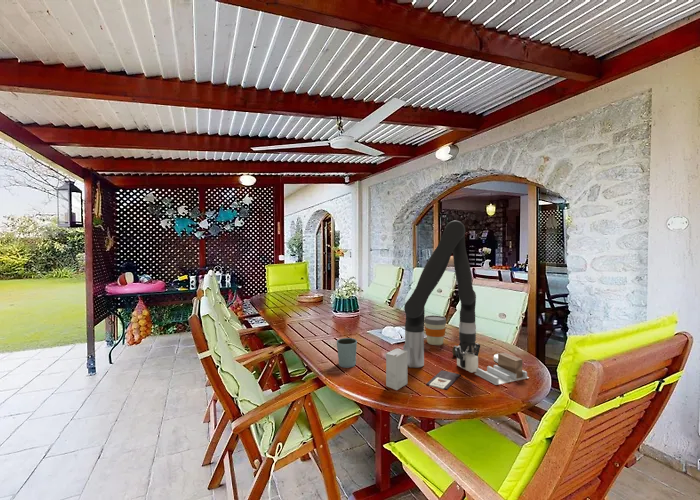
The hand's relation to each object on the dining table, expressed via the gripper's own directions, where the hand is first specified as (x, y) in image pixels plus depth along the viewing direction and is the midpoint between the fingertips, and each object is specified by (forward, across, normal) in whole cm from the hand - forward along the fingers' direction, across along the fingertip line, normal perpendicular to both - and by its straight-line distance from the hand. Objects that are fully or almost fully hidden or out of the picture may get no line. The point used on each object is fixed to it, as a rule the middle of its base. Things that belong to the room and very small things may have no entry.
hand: (467, 366), depth 165 cm
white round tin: (+2, +23, 0) cm, 23 cm away
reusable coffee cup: (+2, +11, +41) cm, 42 cm away
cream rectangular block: (+2, 0, 0) cm, 2 cm away
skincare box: (+2, -39, -2) cm, 39 cm away
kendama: (+2, +13, +17) cm, 21 cm away
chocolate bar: (+3, -17, -5) cm, 18 cm away
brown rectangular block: (+1, +13, -13) cm, 18 cm away
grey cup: (+2, -50, +29) cm, 58 cm away
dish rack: (+2, +8, -13) cm, 15 cm away
